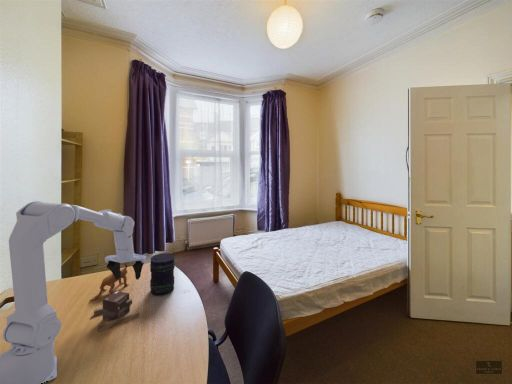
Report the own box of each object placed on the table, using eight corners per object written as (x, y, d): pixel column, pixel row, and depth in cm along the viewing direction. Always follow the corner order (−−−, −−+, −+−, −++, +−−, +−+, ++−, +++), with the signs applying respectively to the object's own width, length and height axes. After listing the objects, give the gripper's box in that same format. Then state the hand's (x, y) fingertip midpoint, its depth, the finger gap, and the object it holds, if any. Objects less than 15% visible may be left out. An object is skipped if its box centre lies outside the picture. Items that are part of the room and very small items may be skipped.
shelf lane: (98, 331, 71) (98, 327, 70) (94, 314, 79) (94, 310, 79) (139, 316, 79) (139, 312, 79) (131, 302, 87) (131, 298, 87)
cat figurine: (94, 306, 84) (92, 273, 82) (83, 302, 86) (81, 269, 85) (135, 283, 101) (134, 255, 99) (125, 280, 103) (123, 252, 101)
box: (116, 322, 75) (116, 302, 74) (102, 319, 76) (101, 299, 76) (130, 311, 81) (130, 293, 80) (116, 309, 82) (116, 290, 82)
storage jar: (173, 282, 103) (174, 252, 102) (175, 293, 94) (175, 260, 93) (150, 286, 99) (150, 254, 97) (149, 298, 90) (149, 263, 89)
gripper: (148, 241, 86) (151, 272, 89) (111, 241, 86) (115, 272, 89) (140, 250, 79) (143, 283, 82) (99, 250, 79) (104, 283, 82)
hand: (128, 278), depth 85 cm, fingers open, 7 cm apart
